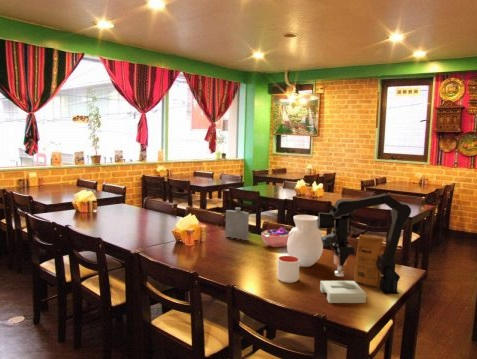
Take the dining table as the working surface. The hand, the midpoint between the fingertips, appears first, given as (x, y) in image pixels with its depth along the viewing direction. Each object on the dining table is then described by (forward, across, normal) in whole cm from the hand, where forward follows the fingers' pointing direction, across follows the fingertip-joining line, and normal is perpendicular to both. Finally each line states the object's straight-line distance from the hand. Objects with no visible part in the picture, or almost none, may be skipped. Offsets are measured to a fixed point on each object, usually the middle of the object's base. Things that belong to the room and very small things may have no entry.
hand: (339, 263), depth 177 cm
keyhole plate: (+12, +7, -1) cm, 14 cm away
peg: (+5, 0, 0) cm, 5 cm away
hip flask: (+11, -84, -42) cm, 95 cm away
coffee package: (+12, -10, +16) cm, 23 cm away
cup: (+12, -12, -21) cm, 26 cm away
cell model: (+12, -68, -18) cm, 71 cm away
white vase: (+12, -35, -8) cm, 38 cm away
